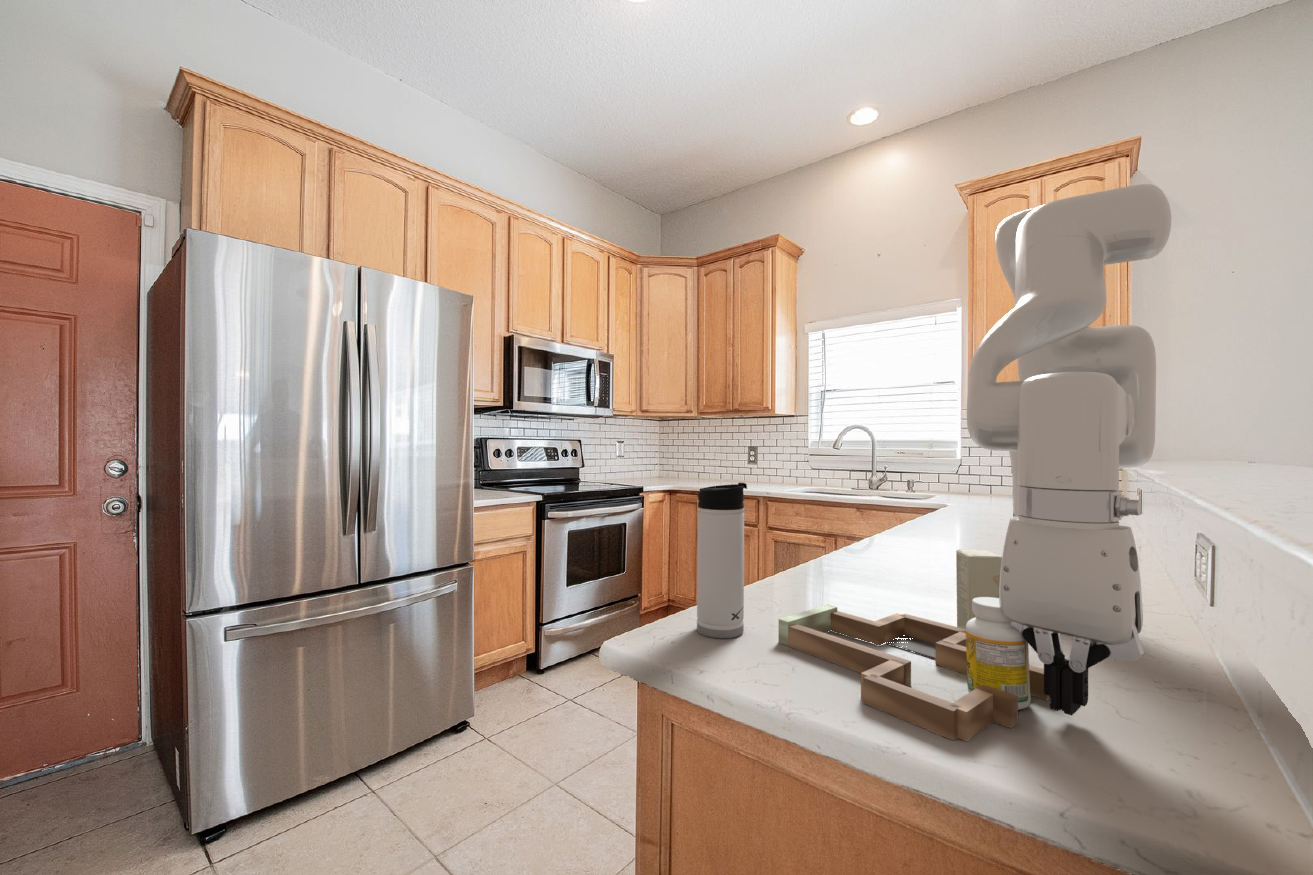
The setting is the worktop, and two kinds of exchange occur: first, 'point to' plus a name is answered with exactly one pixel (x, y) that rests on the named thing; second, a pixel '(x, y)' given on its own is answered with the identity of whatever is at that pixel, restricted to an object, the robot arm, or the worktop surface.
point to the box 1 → (905, 668)
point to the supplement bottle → (996, 652)
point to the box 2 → (975, 580)
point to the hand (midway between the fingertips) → (1065, 707)
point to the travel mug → (720, 561)
